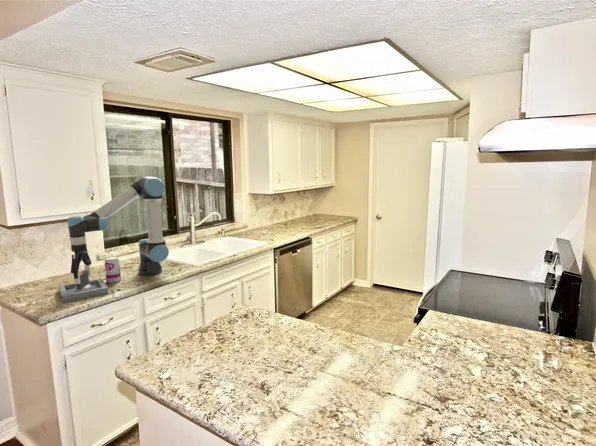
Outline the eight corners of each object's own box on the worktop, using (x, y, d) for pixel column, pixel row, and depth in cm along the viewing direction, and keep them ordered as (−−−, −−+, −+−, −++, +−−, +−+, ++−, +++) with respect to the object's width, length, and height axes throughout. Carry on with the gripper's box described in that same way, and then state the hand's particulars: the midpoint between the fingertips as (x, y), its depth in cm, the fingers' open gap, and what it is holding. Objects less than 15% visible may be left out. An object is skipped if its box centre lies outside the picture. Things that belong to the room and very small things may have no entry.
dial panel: (101, 283, 227) (100, 277, 226) (108, 293, 209) (107, 287, 209) (59, 291, 213) (58, 285, 213) (63, 302, 196) (62, 295, 196)
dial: (80, 287, 216) (78, 270, 214) (94, 286, 216) (92, 269, 215) (71, 293, 206) (69, 275, 204) (86, 292, 207) (84, 274, 205)
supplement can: (115, 283, 226) (112, 260, 223) (103, 282, 228) (101, 259, 225) (123, 279, 234) (121, 256, 231) (112, 278, 235) (110, 256, 233)
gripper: (81, 239, 218) (85, 273, 222) (60, 249, 194) (65, 287, 198) (94, 238, 219) (98, 272, 223) (75, 248, 195) (80, 286, 199)
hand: (83, 279), depth 210 cm, fingers open, 13 cm apart
